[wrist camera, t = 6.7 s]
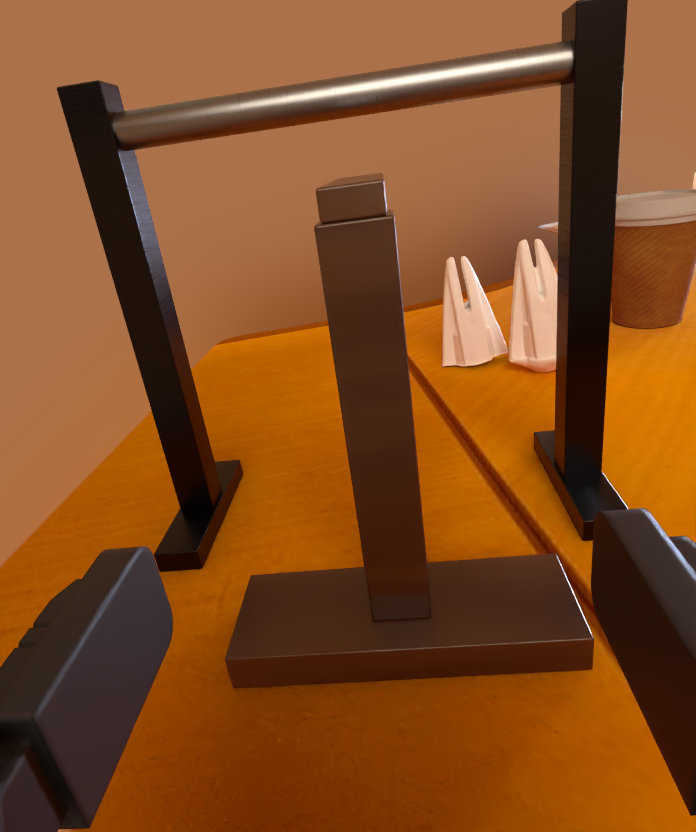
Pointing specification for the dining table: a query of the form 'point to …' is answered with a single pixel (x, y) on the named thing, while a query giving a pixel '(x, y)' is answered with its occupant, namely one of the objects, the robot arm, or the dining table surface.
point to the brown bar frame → (393, 516)
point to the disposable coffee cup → (653, 257)
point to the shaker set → (530, 315)
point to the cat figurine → (695, 183)
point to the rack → (347, 97)
